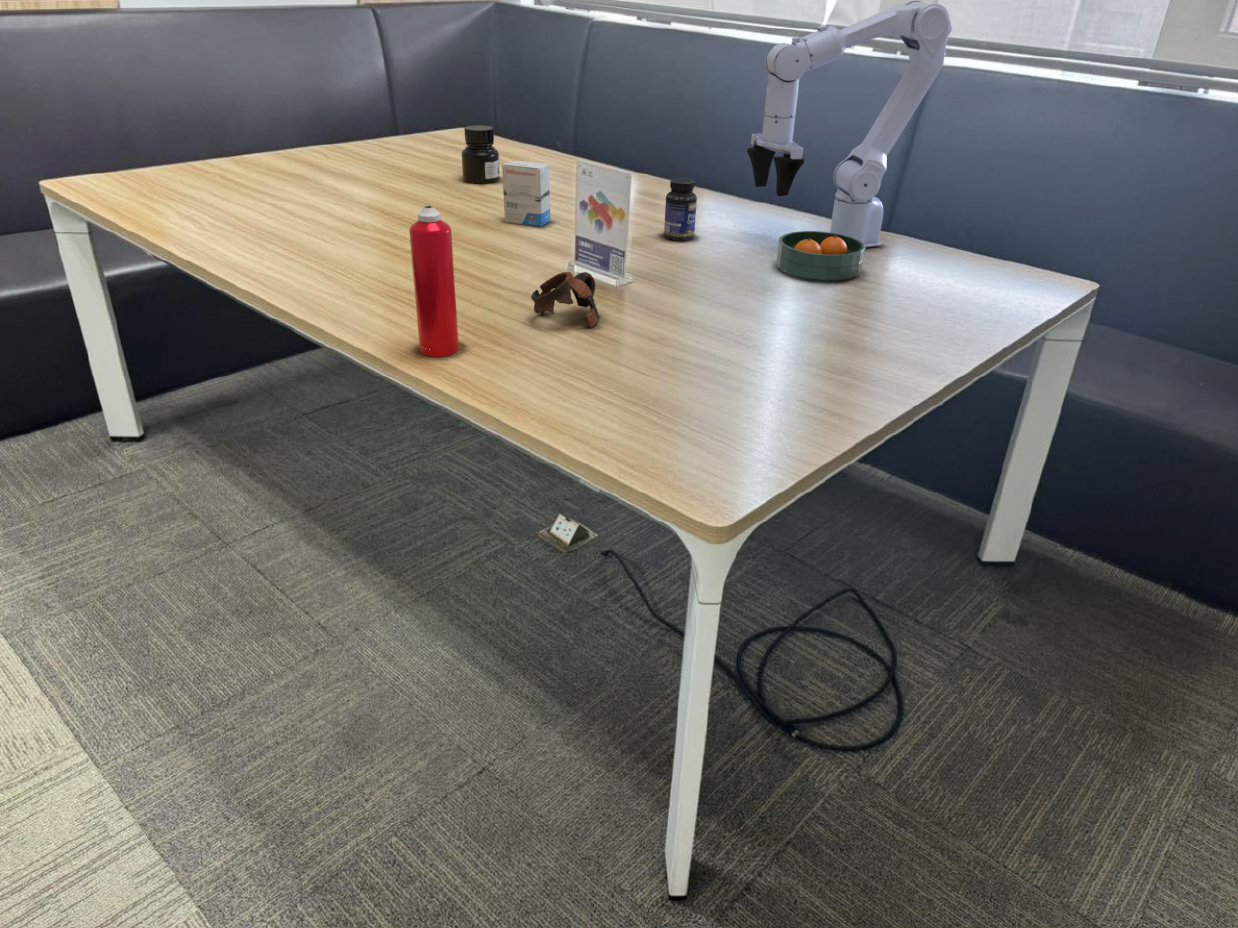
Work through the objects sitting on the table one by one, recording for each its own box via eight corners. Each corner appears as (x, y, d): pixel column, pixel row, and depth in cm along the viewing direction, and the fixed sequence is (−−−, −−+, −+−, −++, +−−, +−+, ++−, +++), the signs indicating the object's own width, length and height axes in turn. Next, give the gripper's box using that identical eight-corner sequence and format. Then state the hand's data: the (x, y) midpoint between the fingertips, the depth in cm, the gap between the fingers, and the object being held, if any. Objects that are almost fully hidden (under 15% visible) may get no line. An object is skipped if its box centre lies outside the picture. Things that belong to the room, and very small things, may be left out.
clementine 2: (833, 259, 167) (838, 230, 165) (850, 267, 163) (855, 238, 161) (810, 262, 166) (814, 233, 163) (827, 270, 162) (831, 241, 159)
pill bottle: (692, 242, 176) (696, 185, 171) (661, 240, 177) (664, 183, 172) (695, 234, 182) (699, 178, 176) (666, 231, 183) (669, 176, 177)
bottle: (424, 358, 124) (412, 214, 114) (416, 344, 128) (403, 203, 118) (463, 353, 126) (454, 210, 116) (453, 339, 130) (443, 200, 120)
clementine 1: (808, 262, 165) (813, 233, 163) (825, 271, 161) (830, 241, 159) (785, 265, 163) (789, 236, 161) (801, 274, 159) (805, 244, 157)
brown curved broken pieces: (588, 338, 133) (560, 292, 130) (543, 351, 139) (514, 307, 135) (621, 295, 141) (595, 250, 137) (576, 309, 147) (550, 266, 143)
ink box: (551, 222, 187) (550, 163, 181) (540, 227, 182) (539, 168, 177) (514, 216, 189) (512, 159, 183) (503, 222, 185) (501, 163, 179)
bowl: (827, 253, 173) (831, 228, 170) (877, 278, 161) (882, 250, 158) (760, 261, 167) (763, 235, 164) (807, 287, 155) (811, 259, 153)
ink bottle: (497, 185, 213) (494, 132, 207) (459, 184, 213) (456, 131, 207) (502, 176, 221) (500, 125, 215) (466, 175, 221) (463, 123, 215)
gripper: (740, 110, 169) (733, 183, 176) (783, 123, 158) (774, 201, 165) (772, 108, 172) (764, 181, 178) (816, 121, 160) (806, 198, 167)
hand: (771, 190), depth 172 cm, fingers open, 7 cm apart
